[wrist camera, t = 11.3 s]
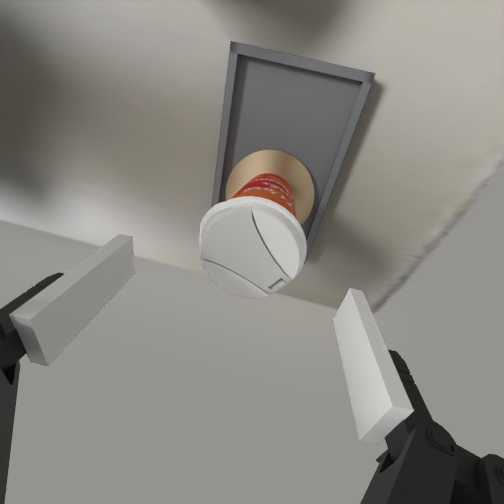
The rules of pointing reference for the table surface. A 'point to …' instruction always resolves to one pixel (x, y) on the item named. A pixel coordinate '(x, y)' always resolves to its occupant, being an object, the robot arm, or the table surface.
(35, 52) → the table surface
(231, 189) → the pad
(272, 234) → the coffee cup
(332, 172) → the tray
